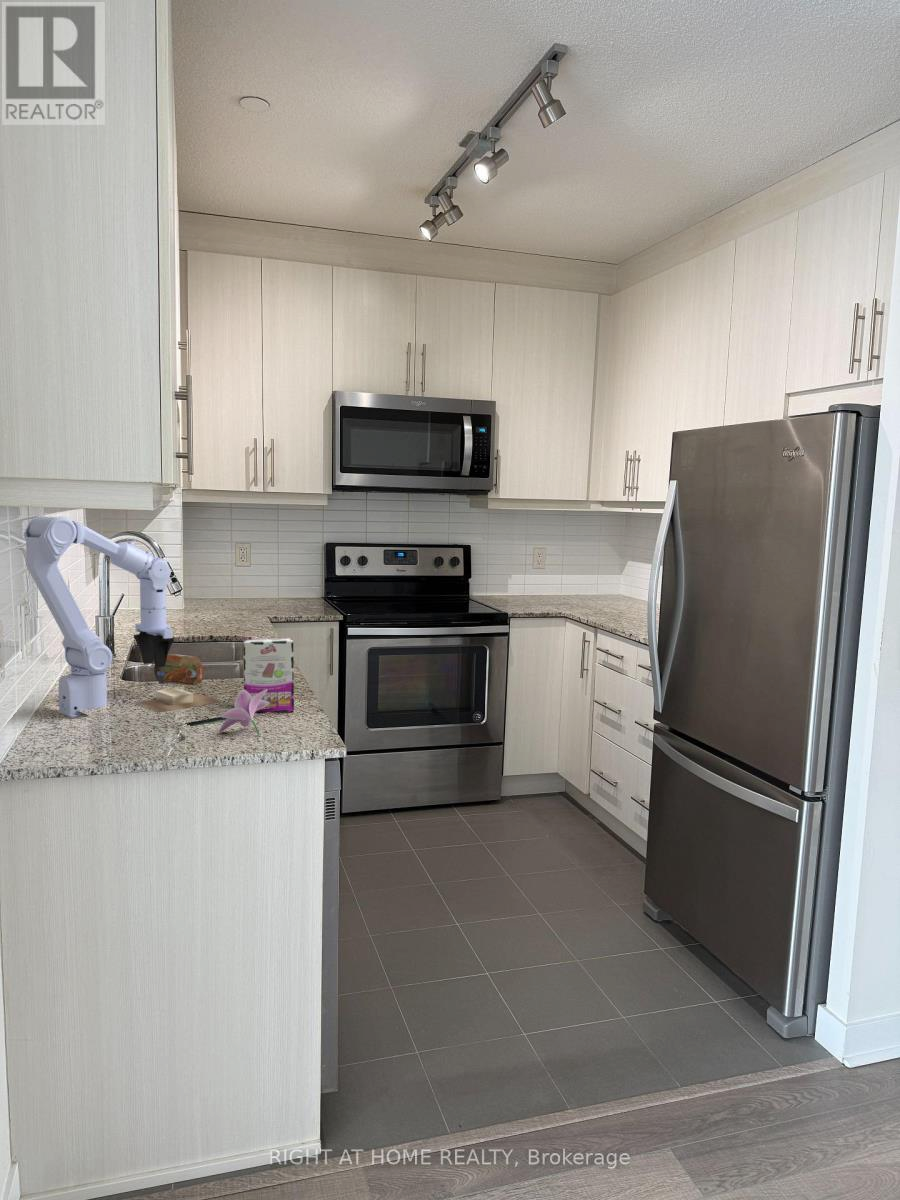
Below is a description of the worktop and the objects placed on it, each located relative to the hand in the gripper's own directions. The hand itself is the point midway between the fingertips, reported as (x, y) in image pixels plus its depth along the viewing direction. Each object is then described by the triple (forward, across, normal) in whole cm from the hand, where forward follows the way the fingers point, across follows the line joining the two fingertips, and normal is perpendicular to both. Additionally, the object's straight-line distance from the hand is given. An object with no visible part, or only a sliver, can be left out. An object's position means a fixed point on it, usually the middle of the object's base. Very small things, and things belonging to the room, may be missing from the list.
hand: (154, 665), depth 197 cm
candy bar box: (+9, -26, -14) cm, 31 cm away
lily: (+9, -39, 0) cm, 40 cm away
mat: (+8, -23, 0) cm, 25 cm away
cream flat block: (+7, -10, 0) cm, 12 cm away
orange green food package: (+9, +10, -12) cm, 18 cm away
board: (+8, -12, 0) cm, 14 cm away
